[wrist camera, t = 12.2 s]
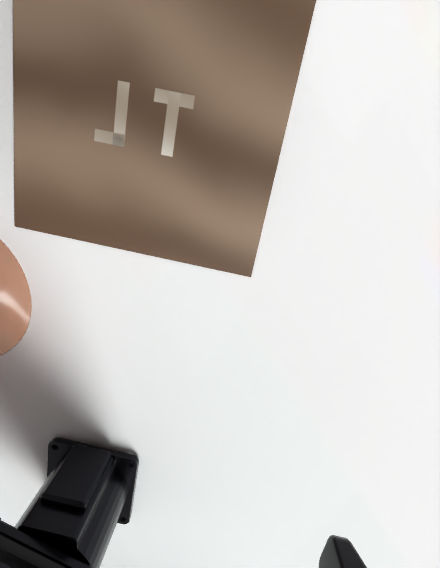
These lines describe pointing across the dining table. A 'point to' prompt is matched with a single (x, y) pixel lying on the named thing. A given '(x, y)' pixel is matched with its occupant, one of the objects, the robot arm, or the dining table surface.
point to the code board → (154, 121)
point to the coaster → (12, 300)
